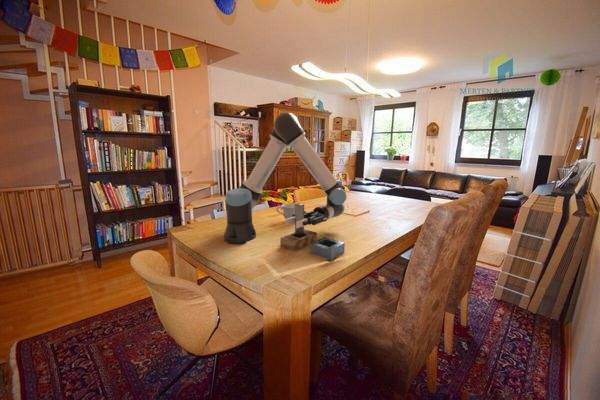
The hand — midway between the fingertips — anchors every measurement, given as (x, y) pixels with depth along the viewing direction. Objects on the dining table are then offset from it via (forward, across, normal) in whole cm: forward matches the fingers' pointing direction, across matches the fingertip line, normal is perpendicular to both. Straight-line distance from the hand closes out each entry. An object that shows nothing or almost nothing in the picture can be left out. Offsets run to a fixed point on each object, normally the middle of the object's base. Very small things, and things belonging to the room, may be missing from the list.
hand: (291, 223), depth 109 cm
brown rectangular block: (-5, 0, -12) cm, 13 cm away
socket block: (-5, -15, -12) cm, 20 cm away
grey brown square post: (-5, 0, -10) cm, 12 cm away
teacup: (-31, +29, -12) cm, 44 cm away
